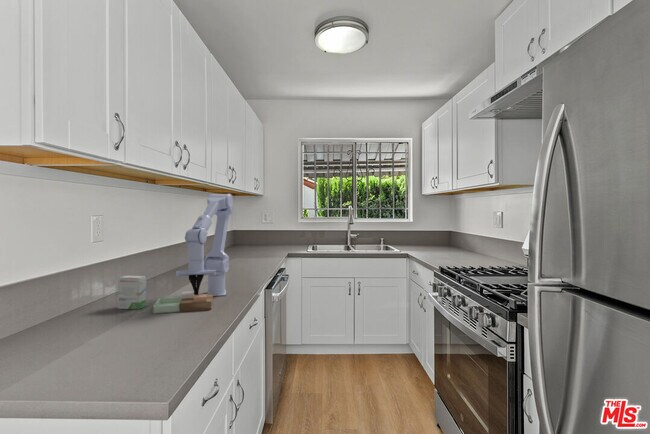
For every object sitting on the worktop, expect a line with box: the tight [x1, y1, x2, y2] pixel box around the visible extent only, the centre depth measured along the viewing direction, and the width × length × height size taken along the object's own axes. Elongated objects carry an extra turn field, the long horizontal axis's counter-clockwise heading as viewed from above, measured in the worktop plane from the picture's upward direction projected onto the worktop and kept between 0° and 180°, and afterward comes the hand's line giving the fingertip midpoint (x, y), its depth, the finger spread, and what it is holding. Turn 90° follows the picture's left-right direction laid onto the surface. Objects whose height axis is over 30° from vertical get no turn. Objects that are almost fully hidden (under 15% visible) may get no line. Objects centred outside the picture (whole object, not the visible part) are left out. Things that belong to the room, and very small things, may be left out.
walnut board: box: [179, 293, 214, 313], centre depth 140 cm, size 13×11×3 cm
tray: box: [152, 296, 182, 314], centre depth 138 cm, size 13×9×2 cm
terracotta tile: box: [194, 293, 207, 302], centre depth 138 cm, size 4×4×2 cm
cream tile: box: [180, 290, 194, 299], centre depth 142 cm, size 4×4×2 cm
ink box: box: [117, 275, 147, 310], centre depth 138 cm, size 9×5×12 cm, turn 84°
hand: (196, 294), depth 143 cm, fingers closed
